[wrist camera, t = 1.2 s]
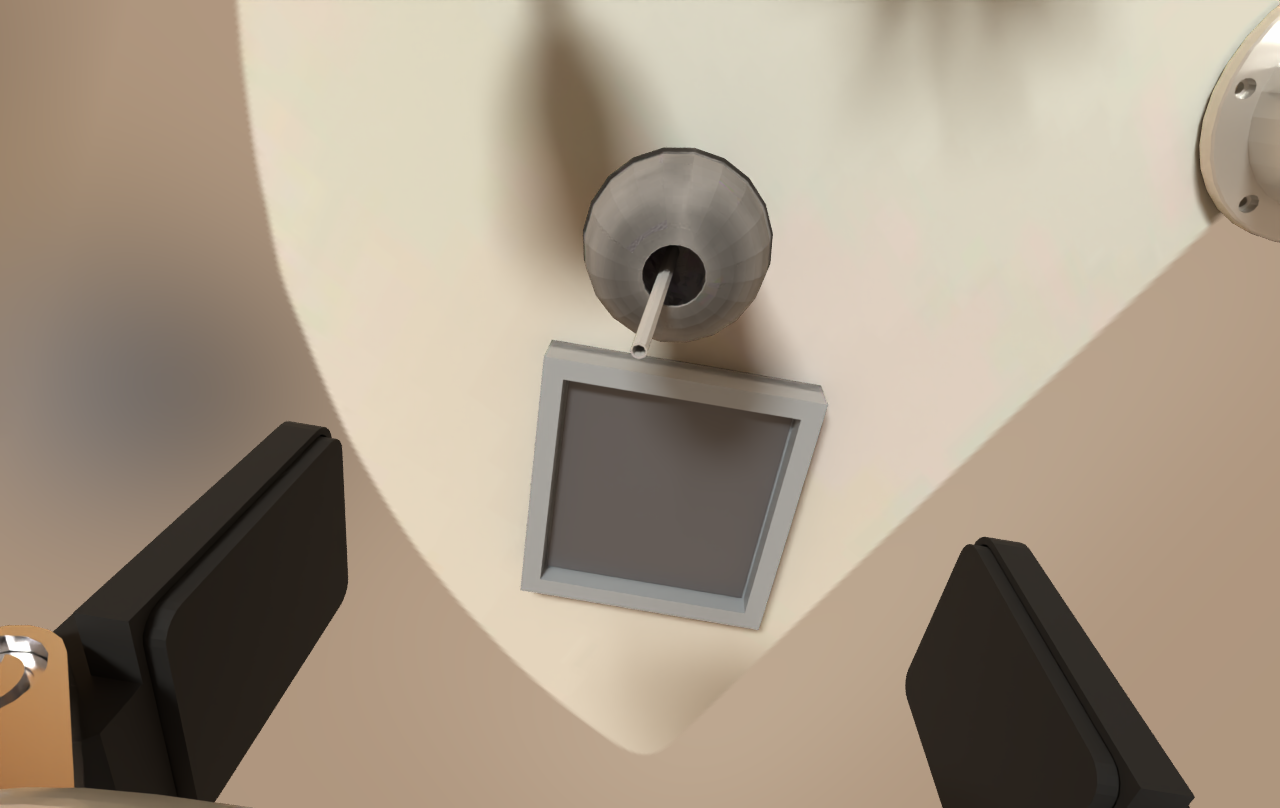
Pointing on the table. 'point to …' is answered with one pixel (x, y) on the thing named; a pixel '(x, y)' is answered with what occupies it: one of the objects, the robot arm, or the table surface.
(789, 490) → the tray
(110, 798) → the robot arm
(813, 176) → the table surface
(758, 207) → the beverage cup
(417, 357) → the table surface
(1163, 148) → the table surface
